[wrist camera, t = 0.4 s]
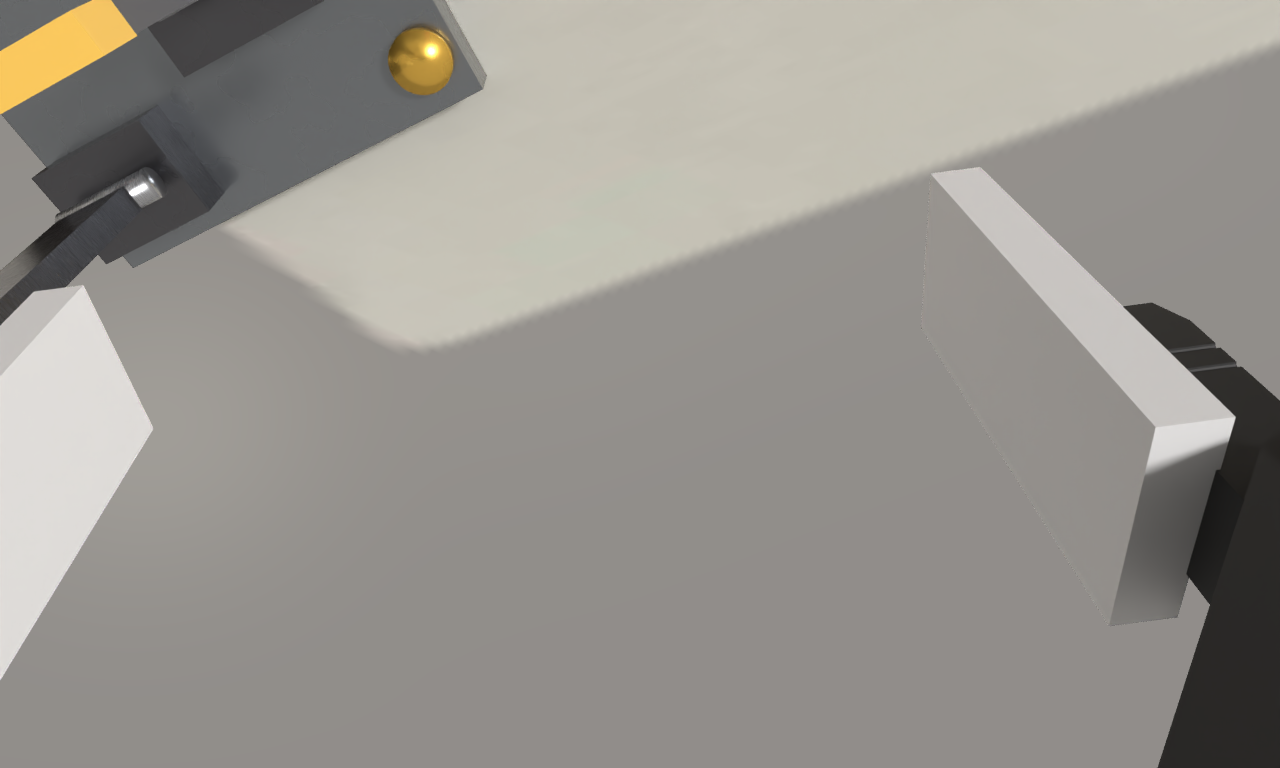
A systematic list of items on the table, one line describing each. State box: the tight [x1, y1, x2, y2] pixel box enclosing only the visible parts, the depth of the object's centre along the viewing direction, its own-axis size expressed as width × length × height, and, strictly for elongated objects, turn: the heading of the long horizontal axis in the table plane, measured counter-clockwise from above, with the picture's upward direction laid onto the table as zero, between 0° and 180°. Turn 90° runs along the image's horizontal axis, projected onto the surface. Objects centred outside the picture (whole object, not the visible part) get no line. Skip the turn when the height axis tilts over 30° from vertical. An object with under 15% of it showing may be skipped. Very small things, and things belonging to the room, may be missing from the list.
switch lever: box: [0, 0, 198, 114], centre depth 27 cm, size 1×4×12 cm, turn 115°
